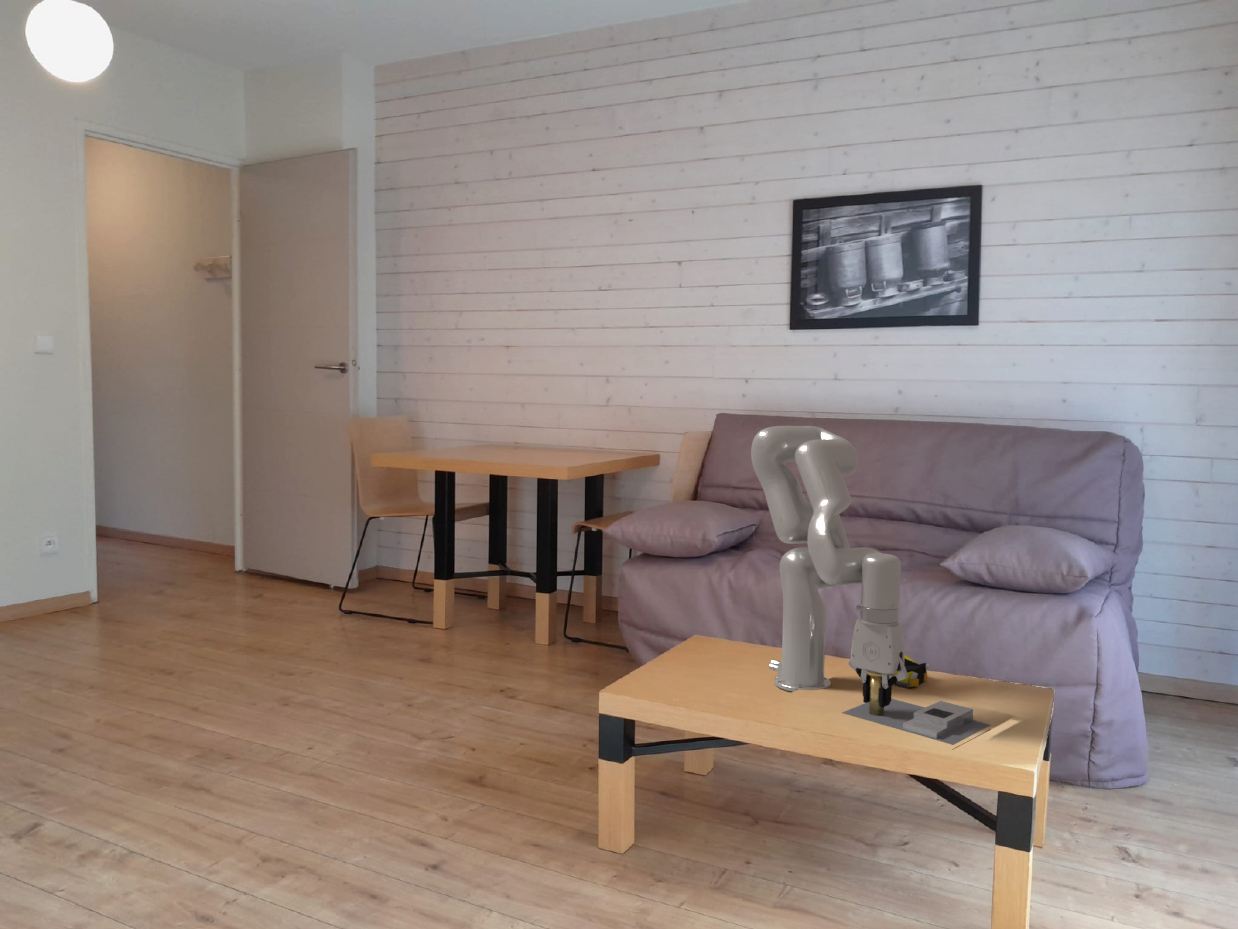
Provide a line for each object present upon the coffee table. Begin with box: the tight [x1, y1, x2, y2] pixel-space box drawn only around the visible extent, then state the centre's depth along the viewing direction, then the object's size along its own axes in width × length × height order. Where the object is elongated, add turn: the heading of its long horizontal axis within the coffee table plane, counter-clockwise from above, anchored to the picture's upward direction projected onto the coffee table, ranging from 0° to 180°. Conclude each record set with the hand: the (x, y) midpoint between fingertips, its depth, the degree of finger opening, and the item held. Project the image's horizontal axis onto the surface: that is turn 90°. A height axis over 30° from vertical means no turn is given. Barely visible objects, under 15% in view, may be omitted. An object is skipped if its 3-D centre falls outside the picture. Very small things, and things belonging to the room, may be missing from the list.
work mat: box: [841, 698, 991, 750], centre depth 191 cm, size 24×16×1 cm, turn 44°
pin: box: [867, 670, 889, 716], centre depth 194 cm, size 4×4×9 cm
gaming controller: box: [894, 654, 930, 689], centre depth 220 cm, size 15×6×10 cm
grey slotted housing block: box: [903, 700, 974, 739], centre depth 187 cm, size 7×15×2 cm, turn 134°
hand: (876, 702), depth 194 cm, fingers closed on pin, 3 cm apart
